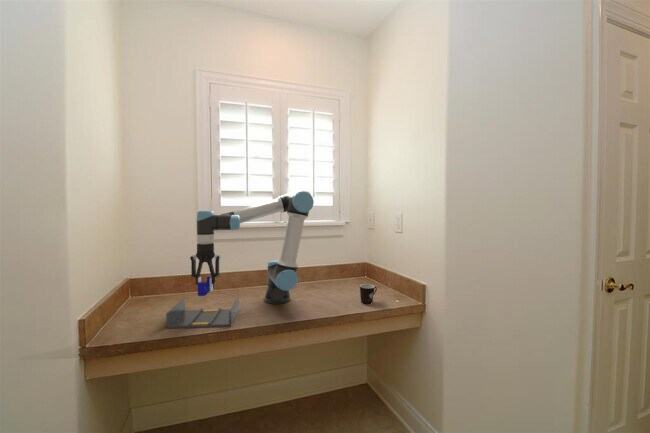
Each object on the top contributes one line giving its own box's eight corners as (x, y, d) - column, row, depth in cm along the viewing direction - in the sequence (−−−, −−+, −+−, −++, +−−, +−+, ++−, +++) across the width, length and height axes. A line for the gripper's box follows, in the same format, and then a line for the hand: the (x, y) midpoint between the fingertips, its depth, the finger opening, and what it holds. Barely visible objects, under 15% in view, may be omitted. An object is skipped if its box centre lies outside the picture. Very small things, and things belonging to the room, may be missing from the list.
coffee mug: (362, 306, 153) (362, 288, 153) (357, 300, 162) (357, 284, 161) (381, 305, 156) (382, 287, 155) (375, 299, 164) (376, 283, 164)
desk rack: (238, 310, 143) (239, 297, 143) (231, 326, 126) (231, 311, 125) (182, 312, 140) (182, 298, 140) (166, 328, 122) (166, 313, 122)
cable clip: (205, 287, 138) (205, 276, 137) (214, 287, 138) (214, 276, 137) (194, 295, 126) (194, 283, 125) (204, 296, 126) (204, 283, 125)
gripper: (226, 241, 136) (226, 288, 137) (189, 241, 134) (189, 288, 135) (222, 244, 128) (222, 293, 130) (182, 244, 126) (183, 293, 128)
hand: (205, 290), depth 132 cm, fingers closed on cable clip, 5 cm apart
